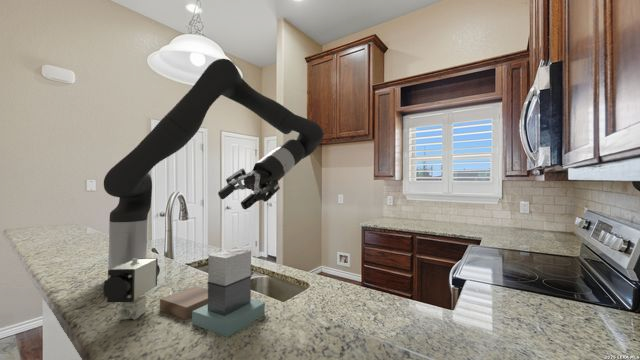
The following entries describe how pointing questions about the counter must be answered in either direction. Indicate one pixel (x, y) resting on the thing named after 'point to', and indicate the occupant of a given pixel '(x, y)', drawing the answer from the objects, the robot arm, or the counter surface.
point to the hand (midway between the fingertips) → (231, 201)
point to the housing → (229, 281)
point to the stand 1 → (184, 302)
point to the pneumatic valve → (131, 285)
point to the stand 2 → (228, 318)
